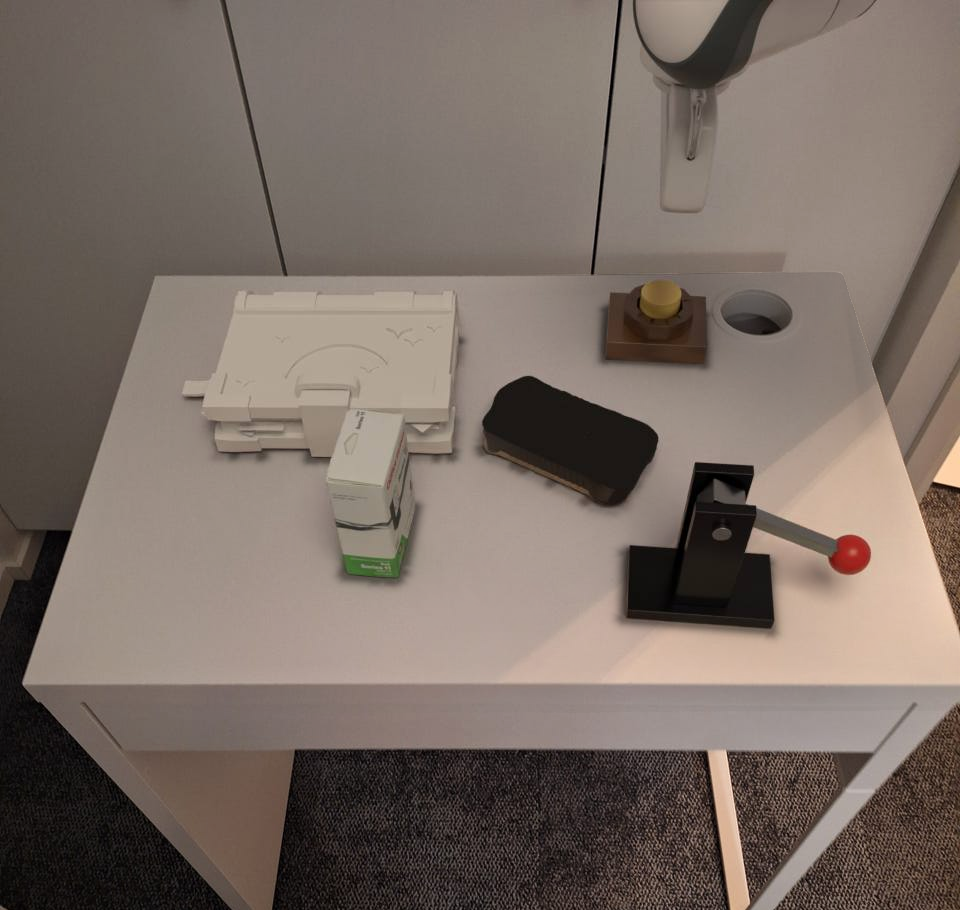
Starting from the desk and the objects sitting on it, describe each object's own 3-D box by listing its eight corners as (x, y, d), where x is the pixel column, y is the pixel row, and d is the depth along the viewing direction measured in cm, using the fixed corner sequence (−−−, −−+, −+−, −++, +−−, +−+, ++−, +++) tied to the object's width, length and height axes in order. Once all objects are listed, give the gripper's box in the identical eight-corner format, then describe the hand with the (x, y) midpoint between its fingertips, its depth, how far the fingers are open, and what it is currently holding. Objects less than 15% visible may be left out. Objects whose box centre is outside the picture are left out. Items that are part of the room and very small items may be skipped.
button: (679, 295, 97) (681, 280, 95) (679, 320, 95) (681, 305, 93) (639, 293, 97) (641, 278, 96) (639, 318, 95) (640, 303, 94)
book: (206, 330, 102) (186, 268, 96) (466, 330, 100) (462, 267, 94) (166, 462, 91) (140, 402, 85) (455, 464, 90) (451, 403, 84)
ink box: (399, 580, 83) (383, 487, 73) (344, 574, 83) (321, 481, 73) (418, 505, 87) (405, 408, 77) (366, 500, 88) (347, 403, 78)
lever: (849, 556, 78) (877, 534, 75) (853, 587, 76) (882, 566, 73) (693, 494, 74) (717, 469, 71) (693, 526, 72) (718, 501, 69)
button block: (702, 313, 101) (709, 281, 97) (703, 364, 96) (710, 332, 93) (608, 309, 102) (611, 277, 98) (605, 359, 97) (608, 327, 94)
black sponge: (663, 460, 89) (668, 431, 86) (619, 518, 86) (623, 490, 83) (518, 397, 95) (518, 368, 92) (470, 449, 91) (468, 421, 88)
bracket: (767, 562, 82) (804, 458, 72) (771, 629, 79) (811, 529, 68) (628, 553, 83) (644, 449, 73) (625, 618, 80) (643, 518, 69)
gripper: (744, 107, 69) (710, 272, 80) (734, -22, 80) (705, 140, 92) (656, 104, 69) (635, 269, 81) (658, -24, 80) (639, 137, 92)
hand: (672, 199), depth 86 cm, fingers closed
